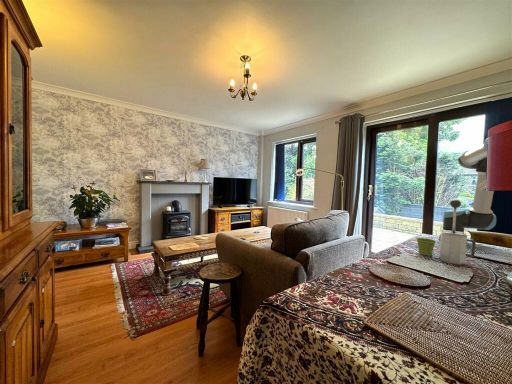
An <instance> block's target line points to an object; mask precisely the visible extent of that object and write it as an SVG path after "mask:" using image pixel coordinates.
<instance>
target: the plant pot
mask: <svg viewBox="0 0 512 384" xmlns="http://www.w3.org/2000/svg"><path fill="white" fill-rule="evenodd" d="M415 240H416V242H417V247H418V253H419V254H420V255H422V256H429V257H430V256H433V252H434V247H435V245H436V243H437V241H436V240H434V239H431V238H424V237H418V238H416V239H415Z"/></svg>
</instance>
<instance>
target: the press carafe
mask: <svg viewBox="0 0 512 384" xmlns="http://www.w3.org/2000/svg"><path fill="white" fill-rule="evenodd" d="M440 234H441V239H440V240H439V242H440V243H439V258H438V259H439V260H440V262H441V261H442V262H443V263H447V264H450V265H456V266H457V265H458V266H465V265H466V259H467V257H469V258H475V253H476V252H475V251H476V240H475V239H469V238H468V235H467V234H466V233H465V232H464V233H463V232H459V231H455V233H452V231H449V230H443V229H441V232H440ZM468 242H469V243H471V246H470V247H471V248H470V249H471V250H470V253H467V244H468Z"/></svg>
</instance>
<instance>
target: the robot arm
mask: <svg viewBox="0 0 512 384" xmlns="http://www.w3.org/2000/svg"><path fill="white" fill-rule="evenodd" d="M488 138H489V137H487V138H486V139H484V141H483V144H480V145H479V146H477V147H475V148H474V149H471V150H466V151H463V152H462V153H460V155H458V158H457V162H458V165H460V167H462V168H464V169H467V170H468V169H469V170H475V172H476V173H477V180H476V186H475V192H474V197H473V203H472V207H470V208H469V209H468V211H466V209H458V208H456V223H455V231H459V232H463V233H465V229H471V230H472V229H473V230H476V229H477V230H491V229H493V228H494V227H495V226H496V224H497V216H496V214H495V213H494V212H493V210H492V209H491V207H492V203H493V197H494V193H495V190H494V191H486V190H485V189H486V163H487V144H488ZM453 215H454V208H452V209H446V210H445V211H444V212H443V215H442V216H443V218H442V219H443V221H442V230H449V231H453ZM440 239H441V233H440V234H439V236H438V240H439V241H440Z"/></svg>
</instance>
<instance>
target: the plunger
mask: <svg viewBox="0 0 512 384" xmlns="http://www.w3.org/2000/svg"><path fill="white" fill-rule="evenodd" d="M449 205H450V207H452V209H454V215H453V231H452V233H455V223H456V209H458V208H460V207H461V206H462V202H461V201H460V200H458V199H452V200H451V201H450V202H449Z"/></svg>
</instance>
